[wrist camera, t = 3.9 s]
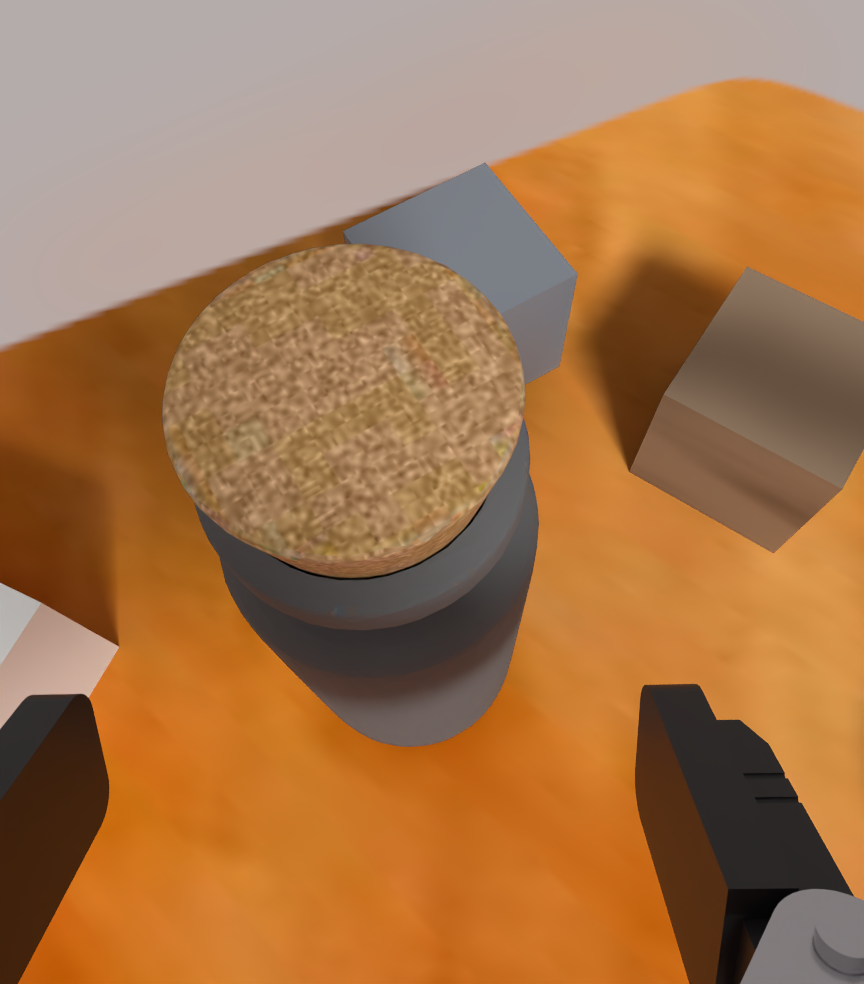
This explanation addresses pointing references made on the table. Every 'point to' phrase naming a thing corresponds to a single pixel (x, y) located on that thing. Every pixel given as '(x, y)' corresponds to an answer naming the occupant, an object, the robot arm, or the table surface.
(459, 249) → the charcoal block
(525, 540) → the bottle
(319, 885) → the table surface
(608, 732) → the table surface
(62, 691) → the offwhite block
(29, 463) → the table surface
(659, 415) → the walnut block
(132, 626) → the table surface
